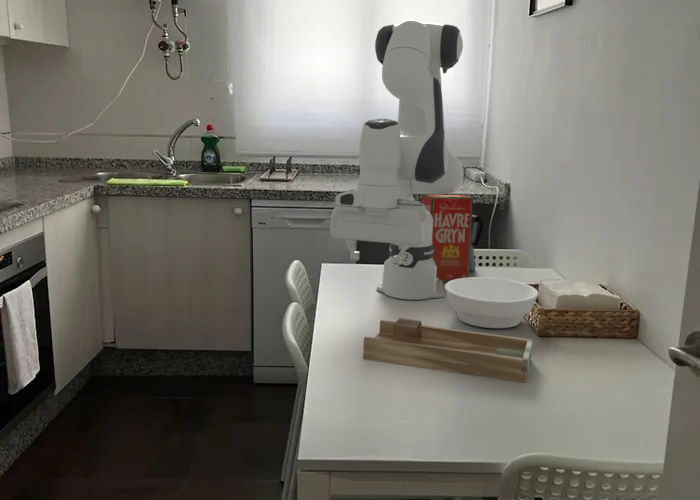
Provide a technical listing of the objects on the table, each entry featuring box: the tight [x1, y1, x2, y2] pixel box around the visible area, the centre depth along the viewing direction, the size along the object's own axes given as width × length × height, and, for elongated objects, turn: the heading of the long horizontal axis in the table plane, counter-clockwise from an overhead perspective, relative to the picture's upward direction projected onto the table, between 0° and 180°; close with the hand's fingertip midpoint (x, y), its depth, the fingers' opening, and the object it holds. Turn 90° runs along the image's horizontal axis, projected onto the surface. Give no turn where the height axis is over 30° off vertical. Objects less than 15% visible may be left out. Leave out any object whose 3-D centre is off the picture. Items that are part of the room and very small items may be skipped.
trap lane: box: [362, 319, 534, 383], centre depth 147 cm, size 13×33×4 cm, turn 72°
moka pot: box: [469, 214, 484, 272], centre depth 223 cm, size 10×15×20 cm, turn 40°
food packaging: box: [421, 194, 474, 282], centre depth 210 cm, size 13×9×25 cm
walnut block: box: [393, 317, 422, 344], centre depth 152 cm, size 5×5×4 cm
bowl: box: [444, 276, 539, 329], centre depth 173 cm, size 22×22×8 cm
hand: (375, 262), depth 151 cm, fingers open, 8 cm apart
